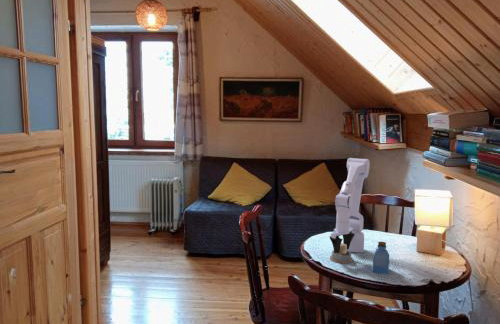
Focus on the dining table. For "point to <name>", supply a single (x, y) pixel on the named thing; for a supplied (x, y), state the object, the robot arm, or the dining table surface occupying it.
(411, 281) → the dining table surface
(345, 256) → the bottle holder
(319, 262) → the dining table surface
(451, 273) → the dining table surface
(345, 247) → the wooden peg
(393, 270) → the dining table surface
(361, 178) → the robot arm
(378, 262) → the blue corked bottle
